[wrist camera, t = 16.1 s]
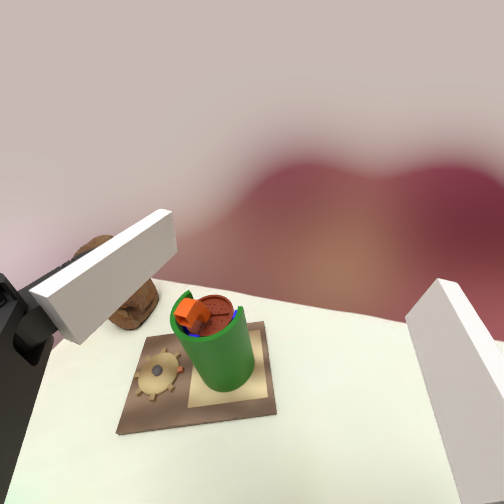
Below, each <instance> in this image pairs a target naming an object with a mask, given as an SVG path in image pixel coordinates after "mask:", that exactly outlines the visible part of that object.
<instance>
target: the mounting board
mask: <svg viewBox="0 0 504 504" xmlns="http://www.w3.org/2000/svg"><path fill="white" fill-rule="evenodd" d="M247 328H248V332H249V336H250V341H251V345H252V350H253V354H254V359H255V365H254V369H253V372H252V374H251V376H250V377H249V379H248V380H247V381H246V382H245V383H244V384H243V385H242V386H241V387H239V388H238V389H236V390H233V391H230V392H217V391H214V390H212V389H210V388H209V387H208V386H207V385H206V384H205V383H204V382H203V380H202V378H201V377H200V375H199V373H198V371H197V370H196V368H195V366H194V365H193V363H192V361H191V360H190V358H189V356H188V355H187V353H186V351H185V350H184V348H183V346H182V345H181V343H180V341H179V340H178V338H177V336H176V335H175V333H174V334H166V335H159V336H152V337H146V340H145V344H144V347H143V350H142V353H141V356H140V359H139V362H138V365H137V368H136V371H135V374H134V378H133V381H132V384H131V387H130V390H129V393H128V396H127V399H126V403H125V406H124V409H123V412H122V415H121V418H120V421H119V424H118V427H117V430H116V434H118V435H124V434H131V433H139V432H146V431H154V430H161V429H169V428H177V427H184V426H192V425H199V424H207V423H214V422H222V421H229V420H237V419H244V418H252V417H260V416H267V415H275V414H277V413H276V406H275V399H274V392H273V384H272V377H271V370H270V363H269V355H268V348H267V341H266V334H265V327H264V321H261V322H253V323H247Z"/></svg>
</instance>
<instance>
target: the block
mask: <svg viewBox="0 0 504 504" xmlns="http://www.w3.org/2000/svg"><path fill="white" fill-rule="evenodd" d="M112 238H113V236H110V235H103V236H98V237H95V238H94V239H92V240H91V241H90V242H89V243H87V244H86V245H84V246H83V247H81V248H80V249H79V250H78V251H77V253H75V255H74V257H75V256H77V255H79V254H80V253H82V252H84V251H87V250H90V249H92V248H95V247H99V246H101V245H102V244H104V243H105V242H107V241H109V240H110V239H112ZM74 257H73V258H74ZM157 301H158V293H157V290H156V288H155V285H154V284H153V282H152V280H151V278H149V279H148V280H147V281H146V282H145V283H144V284H143V285H142V286H141V287H140V288H139V289H138V290H137V291H136V292H135V293H134V294H133V295H132V296H131V297H130V298H129V299H128V300H127V301H126V302H124V303H123V304H122V305H121V306H120V307H119V308H118V309H117V310H116V311H115V312H114V313H113V314H112V315H111V316H110V317H109V318H108V319H109V320H110V321H111V322H112V323H114V324H115V325H117V326H119V327H121V328H123V329H134V328H137V327H138V326H139V325H140V324H141V323H142V322H143V321H144V320H145V319H146V318H147V317H148V316H149V314H150V313H151V312H152V310H153V309H154V307H155V305H156V303H157Z"/></svg>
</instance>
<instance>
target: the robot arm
mask: <svg viewBox="0 0 504 504" xmlns="http://www.w3.org/2000/svg"><path fill="white" fill-rule="evenodd" d="M176 252H177V244H176V237H175V230H174V223H173V216H172V212H171V211H168V210H164V209H158V210H157V211H155V212H153V213H152V214H150V215H149V216H147V217H145V218H144V219H142V220H141V221H139V222H137V223H136V224H134V225H133V226H131V227H129V228H128V229H126V230H125V231H123V232H121V233H120V234H118V235H117V236H115V237H113V238H112V239H110V240H109V241H107V242H105V243H104V244H102V245H101V246H99V247H95V248H92V249H90V250H87V251H84V252H82V253H80V254H79V255H77V256H75V257H74V258H72V259H71V261H67V262H66V263H64V264H63V265H62V266H61V267H57V268H56V269H54V270H52V271H51V272H49V273H47V274H46V275H44V276H42V277H41V278H39V279H38V280H36V281H34V282H33V283H31V284H29V285H28V286H26V287H24V288H23V289H21V290H19V291H16V289H15V288H14V287H13V286H12V284H11V283H10V282H9V281H8V279H7V278H6V277H5V276H4V275H3V274H2V273H0V504H4V502H5V498H6V495H7V492H8V489H9V485H10V482H11V479H12V476H13V472H14V469H15V466H16V463H17V459H18V456H19V453H20V450H21V446H22V443H23V440H24V437H25V433H26V430H27V427H28V424H29V420H30V417H31V414H32V411H33V407H34V404H35V401H36V398H37V394H38V391H39V388H40V385H41V381H42V378H43V375H44V372H45V368H46V365H47V362H48V359H49V355H50V352H51V349H52V346H53V342H54V337H53V336H52V334H53V333H55V332H56V331H57V330H59V332H60V333H61V334H62V336H63V337H64V338H65V339H67V340H69V341H72V342H74V343H76V344H79V345H81V344H82V343H83V342H84V341H85V340H86V339H87V338H88V337H89V336H90V335H91V334H92V333H93V332H94V331H95V330H96V329H97V328H98V327H100V326H101V325H102V324H103V323H104V322H105V321H106V320H107V319H108V318H109V317H110V316H111V315H112V314H113V313H114V312H115V311H116V310H117V309H118V308H119V307H120V306H121V305H122V304H123V303H124V302H126V301H127V300H128V299H129V298H130V297H131V296H132V295H133V294H134V293H135V292H136V291H137V290H138V289H139V288H140V287H141V286H142V285H143V284H144V283H145V282H146V281H147V280H148V279H149V278H150V277H152V276H153V275H154V274H155V273H156V272H157V271H158V270H159V269H160V268H161V267H162V266H163V265H164V264H165V263H166V262H167V261H168V260H169V259H170V258H171V257H172V256H173V255H174V254H175V253H176ZM405 319H406V323H407V326H408V329H409V333H410V336H411V339H412V343H413V346H414V349H415V352H416V356H417V359H418V362H419V366H420V369H421V372H422V375H423V379H424V382H425V385H426V389H427V392H428V395H429V399H430V402H431V405H432V408H433V412H434V415H435V418H436V422H437V425H438V428H439V431H440V435H441V438H442V441H443V445H444V448H445V451H446V455H447V458H448V461H449V464H450V468H451V471H452V474H453V478H454V481H455V484H456V488H457V491H458V494H459V497H460V501H461V504H504V355H503V354H502V352H501V351H500V349H499V347H498V346H497V344H496V343H495V341H494V340H493V338H492V337H491V335H490V333H489V332H488V330H487V329H486V327H485V326H484V324H483V323H482V321H481V319H480V318H479V316H478V315H477V313H476V312H475V310H474V308H473V307H472V305H471V304H470V302H469V301H468V299H467V298H466V296H465V294H464V293H463V291H462V290H461V288H460V287H459V285H458V284H457V283H455V282H451V281H447V280H443V279H439V278H437V279H436V281H435V282H434V283H433V284H432V285H431V286H430V288H429V289H428V290H427V291H426V292H425V294H424V295H423V296H422V297H421V298H420V300H419V301H418V302H417V303H416V305H415V306H414V307H413V308H412V309H411V310H410V312H409V313H408V314H407V315H406V316H405Z"/></svg>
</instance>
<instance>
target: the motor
mask: <svg viewBox="0 0 504 504" xmlns="http://www.w3.org/2000/svg"><path fill="white" fill-rule="evenodd" d="M170 324H171V327H172V330H173V331H174V333H175V335H176V336H177V338H178V340H179V341H180V343H181V345H182V346H183V348H184V350H185V351H186V353H187V355H188V356H189V358H190V360H191V361H192V363H193V365H194V366H195V368H196V370H197V371H198V373H199V375H200V377H201V378H202V380H203V382H204V383H205V384H206V385H207V386H208V387H209V388H210V389H212V390H214V391H217V392H230V391H233V390H236V389H238V388H239V387H241V386H242V385H243V384H244V383H245V382H246V381H247V380H248V379H249V377H250V376H251V374H252V372H253V369H254V365H255V359H254V354H253V350H252V345H251V341H250V336H249V332H248V328H247V323H246V319H245V314H244V310H243V307H242V306H238V310H235V312H234V309H233V306H232V303H231V302H230V301H229V300H228V299H227V298H226V297H224V296H221V295H208V296H205V297H202V298H200V299H198V300H195V299H193V296H192V294H191V292H190V291H189V290H188V291H186V292H185V293H184V294H183V295H182V296H181V297H180V298H179V299H178V300H177V301H176V303H175V304H174V306H173V308H172V311H171V315H170Z"/></svg>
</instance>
